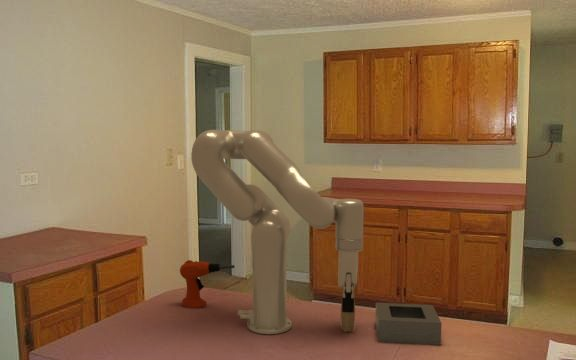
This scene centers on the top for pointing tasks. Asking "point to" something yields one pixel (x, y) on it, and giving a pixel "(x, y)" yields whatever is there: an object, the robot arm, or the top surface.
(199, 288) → the toy drill
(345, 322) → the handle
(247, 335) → the top surface
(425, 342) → the socket block
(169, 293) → the top surface
